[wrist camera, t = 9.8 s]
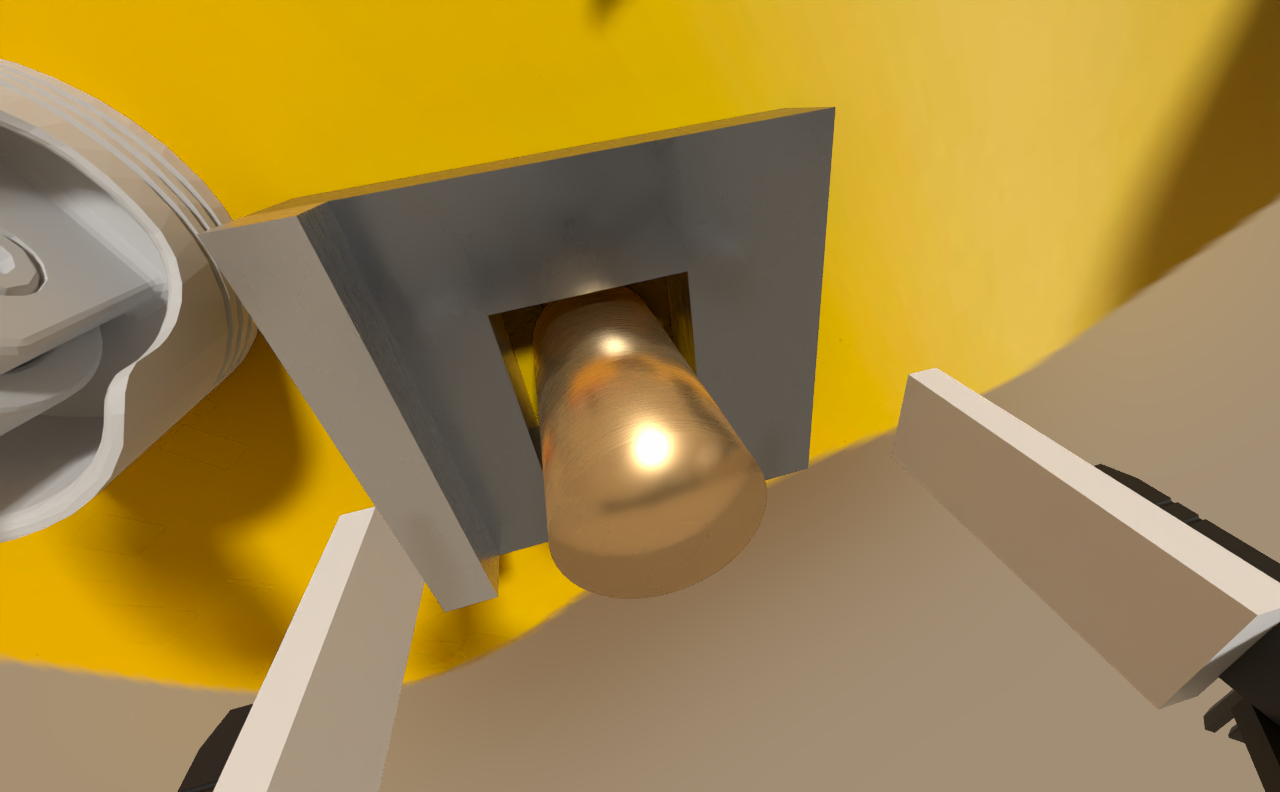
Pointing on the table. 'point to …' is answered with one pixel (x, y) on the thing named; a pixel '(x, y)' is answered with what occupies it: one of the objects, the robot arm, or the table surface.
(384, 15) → the table surface
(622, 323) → the copper cylinder rod
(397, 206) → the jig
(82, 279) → the engine component
